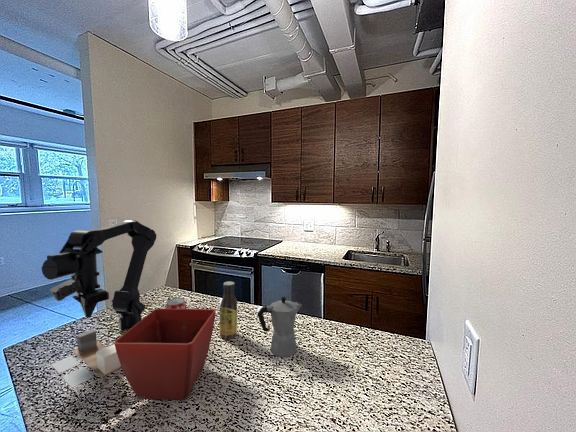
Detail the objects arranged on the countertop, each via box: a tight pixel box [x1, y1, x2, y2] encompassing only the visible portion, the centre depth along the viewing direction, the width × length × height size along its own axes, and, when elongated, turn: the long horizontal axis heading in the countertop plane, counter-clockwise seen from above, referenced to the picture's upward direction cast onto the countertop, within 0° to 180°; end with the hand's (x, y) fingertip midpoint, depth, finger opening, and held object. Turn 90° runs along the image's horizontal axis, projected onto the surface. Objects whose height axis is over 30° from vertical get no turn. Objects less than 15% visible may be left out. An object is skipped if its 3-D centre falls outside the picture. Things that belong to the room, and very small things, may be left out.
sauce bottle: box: [219, 280, 238, 340], centre depth 94 cm, size 6×6×20 cm
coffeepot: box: [257, 296, 303, 358], centre depth 85 cm, size 15×9×18 cm, turn 110°
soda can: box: [164, 297, 188, 309], centre depth 95 cm, size 7×7×13 cm
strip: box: [72, 329, 122, 378], centre depth 80 cm, size 22×7×6 cm, turn 57°
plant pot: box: [113, 308, 216, 401], centre depth 71 cm, size 19×19×17 cm
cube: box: [96, 343, 122, 374], centre depth 76 cm, size 5×5×5 cm
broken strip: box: [50, 355, 95, 389], centre depth 74 cm, size 17×5×1 cm, turn 56°
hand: (88, 317), depth 83 cm, fingers closed
